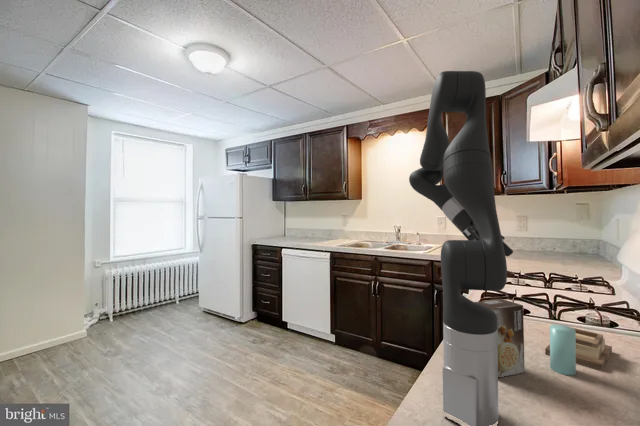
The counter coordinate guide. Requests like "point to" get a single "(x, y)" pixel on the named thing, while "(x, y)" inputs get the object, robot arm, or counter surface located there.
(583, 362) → the base slab
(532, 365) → the counter surface
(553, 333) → the teal post
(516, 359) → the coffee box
